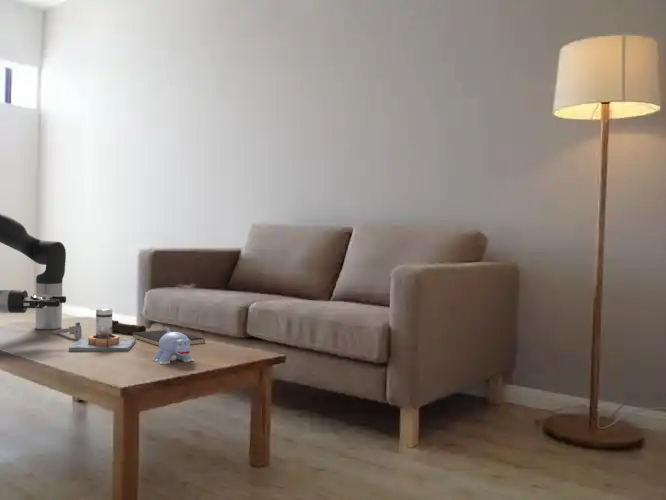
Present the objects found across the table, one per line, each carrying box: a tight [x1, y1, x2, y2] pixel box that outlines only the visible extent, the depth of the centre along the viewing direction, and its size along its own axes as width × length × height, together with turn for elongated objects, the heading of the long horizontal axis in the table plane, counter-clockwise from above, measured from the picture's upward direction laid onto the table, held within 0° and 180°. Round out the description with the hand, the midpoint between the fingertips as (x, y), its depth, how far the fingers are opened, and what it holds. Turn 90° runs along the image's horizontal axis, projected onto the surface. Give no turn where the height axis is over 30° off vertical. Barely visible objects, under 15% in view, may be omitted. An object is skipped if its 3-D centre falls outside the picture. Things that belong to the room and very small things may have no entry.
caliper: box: [51, 322, 83, 341], centre depth 230 cm, size 20×1×6 cm, turn 48°
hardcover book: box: [131, 328, 205, 347], centre depth 229 cm, size 16×23×2 cm
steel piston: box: [95, 308, 113, 339], centre depth 214 cm, size 5×5×11 cm
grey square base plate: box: [68, 334, 137, 353], centre depth 214 cm, size 18×18×3 cm
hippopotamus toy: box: [152, 326, 195, 365], centre depth 194 cm, size 11×15×10 cm
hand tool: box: [112, 319, 147, 335], centre depth 241 cm, size 19×4×5 cm, turn 61°
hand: (62, 301), depth 213 cm, fingers open, 8 cm apart
